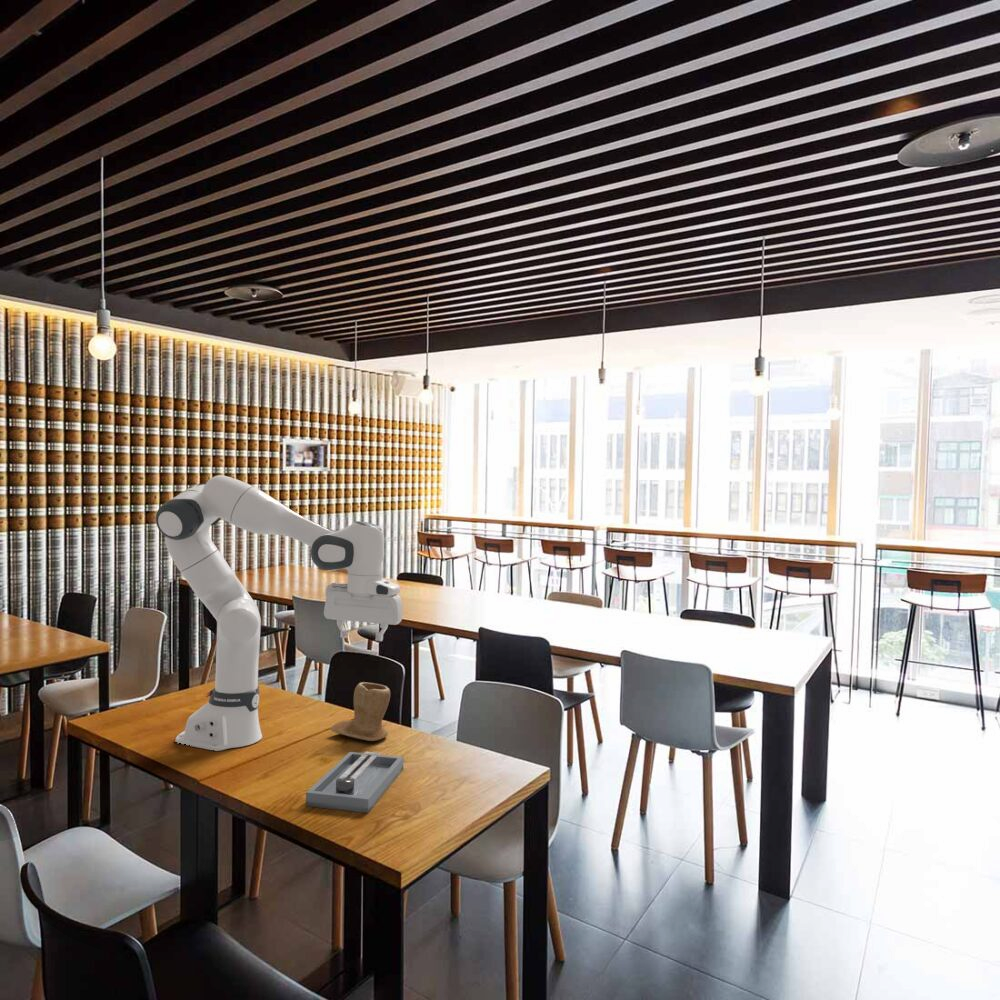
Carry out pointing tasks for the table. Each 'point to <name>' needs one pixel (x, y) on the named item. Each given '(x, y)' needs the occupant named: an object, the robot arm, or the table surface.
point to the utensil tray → (367, 794)
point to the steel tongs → (358, 773)
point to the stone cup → (366, 713)
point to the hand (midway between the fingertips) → (361, 639)
